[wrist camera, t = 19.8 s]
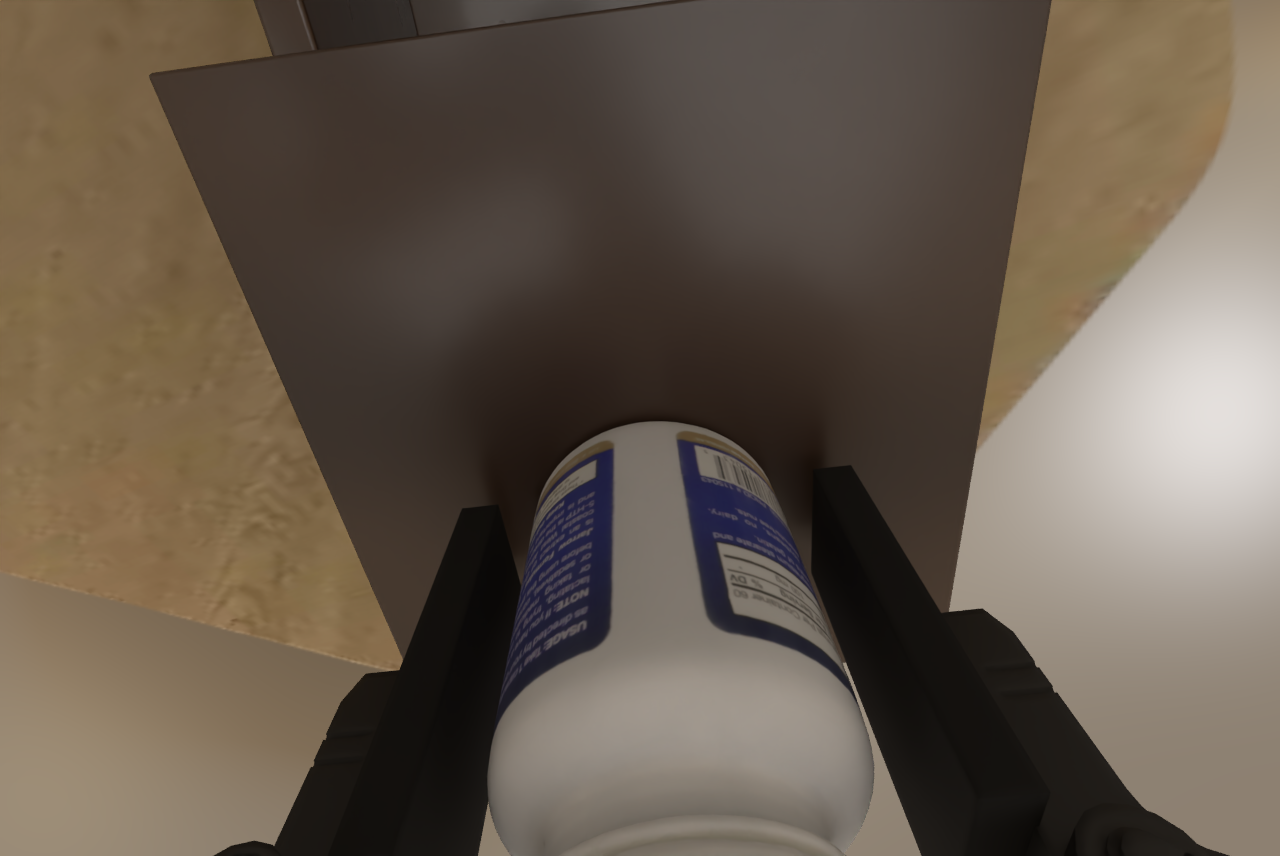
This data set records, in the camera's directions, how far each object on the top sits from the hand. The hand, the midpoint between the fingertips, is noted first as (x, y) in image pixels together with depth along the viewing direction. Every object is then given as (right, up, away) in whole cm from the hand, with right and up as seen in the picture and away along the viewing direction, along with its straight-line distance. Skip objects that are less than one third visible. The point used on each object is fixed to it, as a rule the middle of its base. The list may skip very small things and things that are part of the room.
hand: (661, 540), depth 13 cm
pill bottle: (0, 0, +1) cm, 1 cm away
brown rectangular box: (0, +7, +8) cm, 11 cm away
